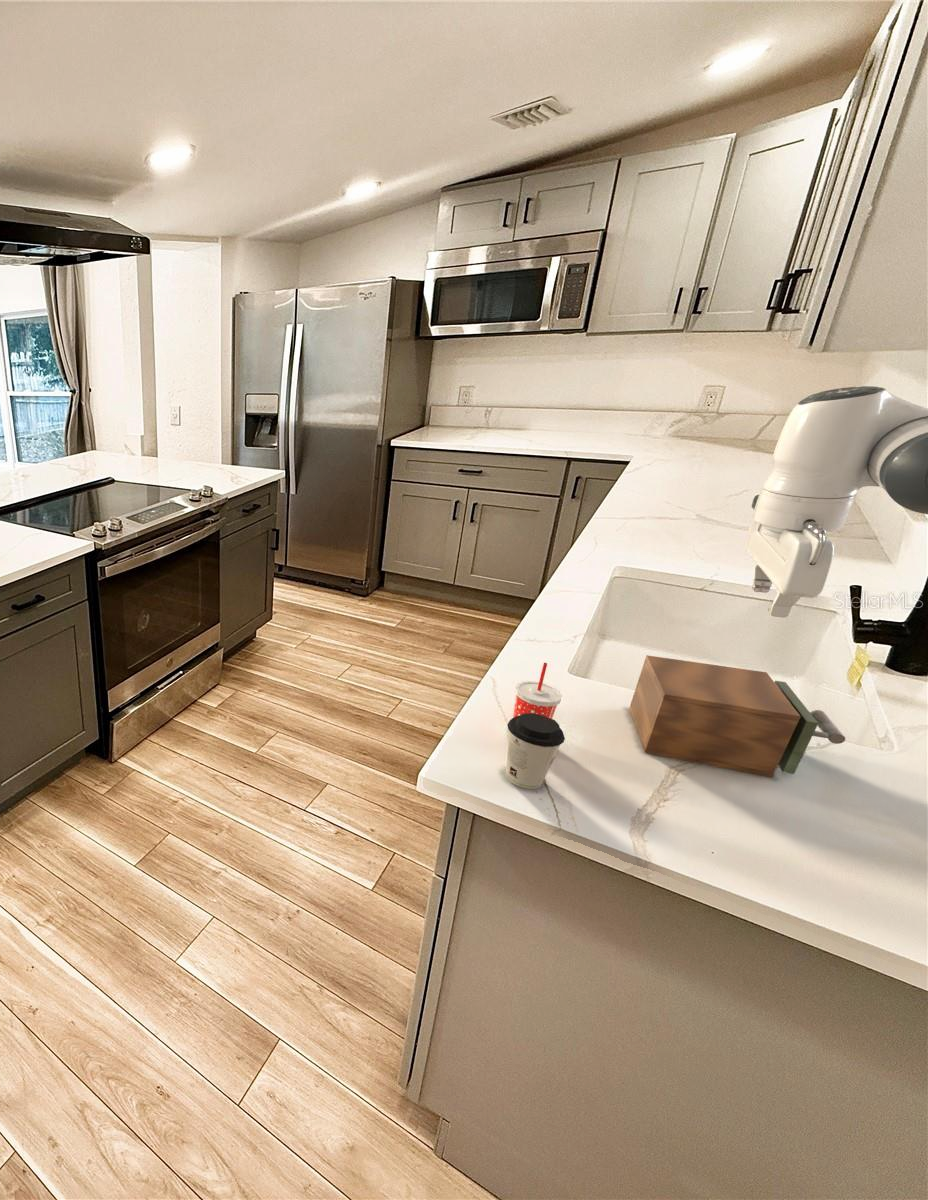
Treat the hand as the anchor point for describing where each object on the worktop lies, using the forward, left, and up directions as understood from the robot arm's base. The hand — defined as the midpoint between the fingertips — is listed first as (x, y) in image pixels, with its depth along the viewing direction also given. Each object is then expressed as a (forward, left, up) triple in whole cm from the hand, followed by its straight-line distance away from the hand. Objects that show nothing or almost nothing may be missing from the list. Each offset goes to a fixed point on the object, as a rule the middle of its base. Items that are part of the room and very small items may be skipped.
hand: (767, 602), depth 90 cm
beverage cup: (+26, +17, -22) cm, 38 cm away
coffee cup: (+26, +28, -22) cm, 44 cm away
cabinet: (+4, +6, -22) cm, 23 cm away
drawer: (-1, +6, -21) cm, 22 cm away
